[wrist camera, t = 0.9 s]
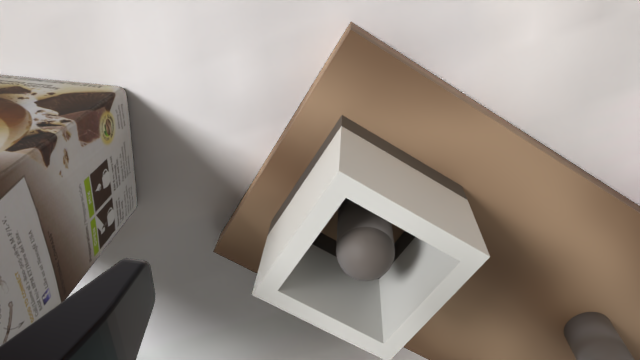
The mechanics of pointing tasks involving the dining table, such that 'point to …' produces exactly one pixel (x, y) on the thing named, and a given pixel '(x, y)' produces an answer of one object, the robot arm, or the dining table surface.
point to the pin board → (488, 209)
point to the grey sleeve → (410, 249)
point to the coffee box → (58, 189)
